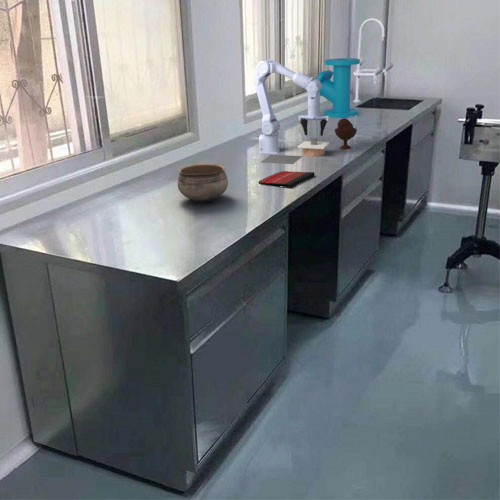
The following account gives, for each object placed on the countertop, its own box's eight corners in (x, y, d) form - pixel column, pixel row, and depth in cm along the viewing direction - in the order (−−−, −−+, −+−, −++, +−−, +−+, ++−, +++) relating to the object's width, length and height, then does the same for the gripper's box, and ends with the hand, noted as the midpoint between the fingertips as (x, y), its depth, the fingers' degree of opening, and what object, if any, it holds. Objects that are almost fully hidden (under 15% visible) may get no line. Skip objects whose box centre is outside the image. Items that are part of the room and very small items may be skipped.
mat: (260, 163, 271) (260, 162, 271) (270, 155, 285) (270, 154, 285) (293, 165, 266) (293, 164, 266) (302, 157, 280) (302, 156, 280)
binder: (314, 171, 246) (290, 184, 230) (314, 177, 247) (290, 190, 231) (282, 169, 255) (256, 181, 239) (282, 174, 256) (256, 186, 240)
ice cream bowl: (356, 150, 288) (357, 119, 283) (333, 150, 291) (333, 120, 285) (356, 145, 298) (357, 116, 292) (334, 145, 300) (335, 116, 295)
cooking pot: (215, 212, 207) (213, 178, 203) (167, 208, 213) (164, 176, 208) (238, 192, 229) (236, 161, 224) (194, 189, 235) (191, 159, 230)
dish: (300, 156, 281) (300, 147, 279) (306, 151, 290) (306, 142, 288) (321, 157, 277) (321, 148, 276) (326, 152, 286) (326, 143, 285)
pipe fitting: (350, 118, 374) (352, 61, 360) (305, 115, 389) (305, 60, 376) (363, 112, 391) (365, 58, 378) (319, 110, 407) (320, 58, 393)
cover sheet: (297, 147, 278) (297, 140, 277) (304, 142, 290) (304, 135, 288) (323, 148, 274) (323, 141, 273) (330, 143, 285) (330, 135, 284)
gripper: (296, 107, 274) (296, 136, 279) (327, 108, 269) (326, 137, 274) (300, 105, 280) (300, 133, 285) (330, 105, 275) (330, 134, 280)
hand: (313, 135), depth 280 cm, fingers open, 7 cm apart
